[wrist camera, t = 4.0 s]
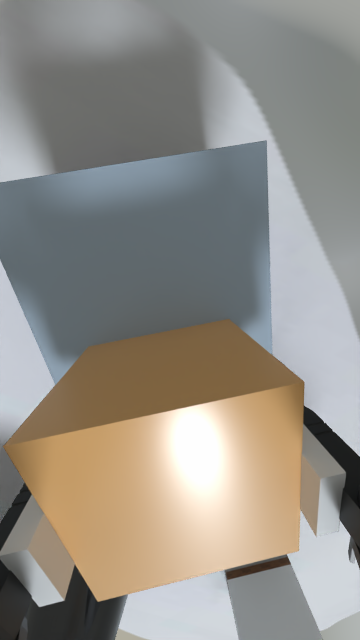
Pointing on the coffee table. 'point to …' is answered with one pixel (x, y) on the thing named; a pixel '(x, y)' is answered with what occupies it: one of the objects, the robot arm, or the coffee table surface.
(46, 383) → the coffee table surface
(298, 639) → the tall white vase
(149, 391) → the lid
